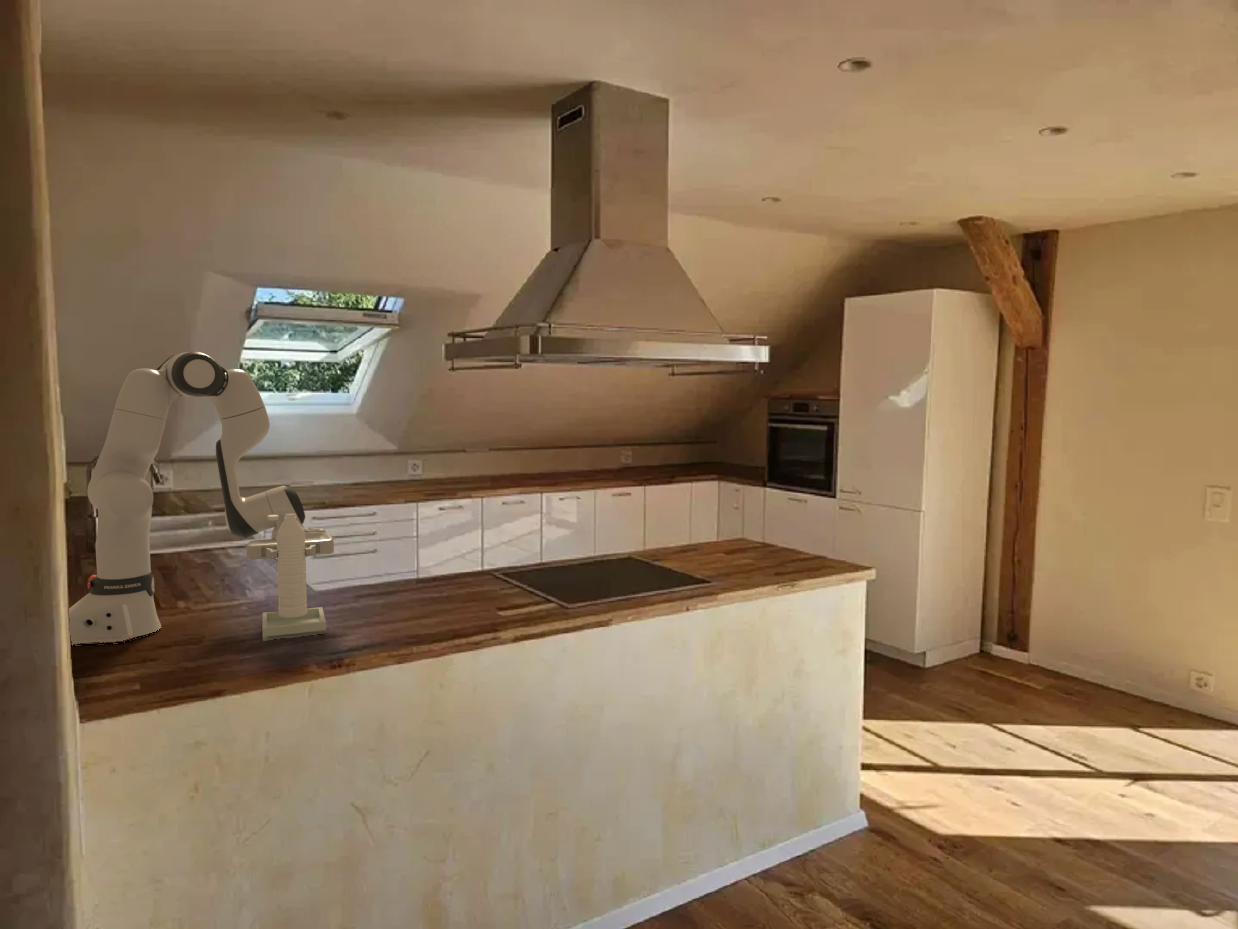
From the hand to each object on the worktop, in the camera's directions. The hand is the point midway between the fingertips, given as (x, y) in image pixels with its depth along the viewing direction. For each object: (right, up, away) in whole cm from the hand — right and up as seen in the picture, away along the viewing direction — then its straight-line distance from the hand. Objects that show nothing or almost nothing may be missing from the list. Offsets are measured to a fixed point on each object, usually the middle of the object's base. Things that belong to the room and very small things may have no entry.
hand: (291, 553), depth 202 cm
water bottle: (-2, -15, +2) cm, 16 cm away
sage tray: (0, -19, +3) cm, 19 cm away
